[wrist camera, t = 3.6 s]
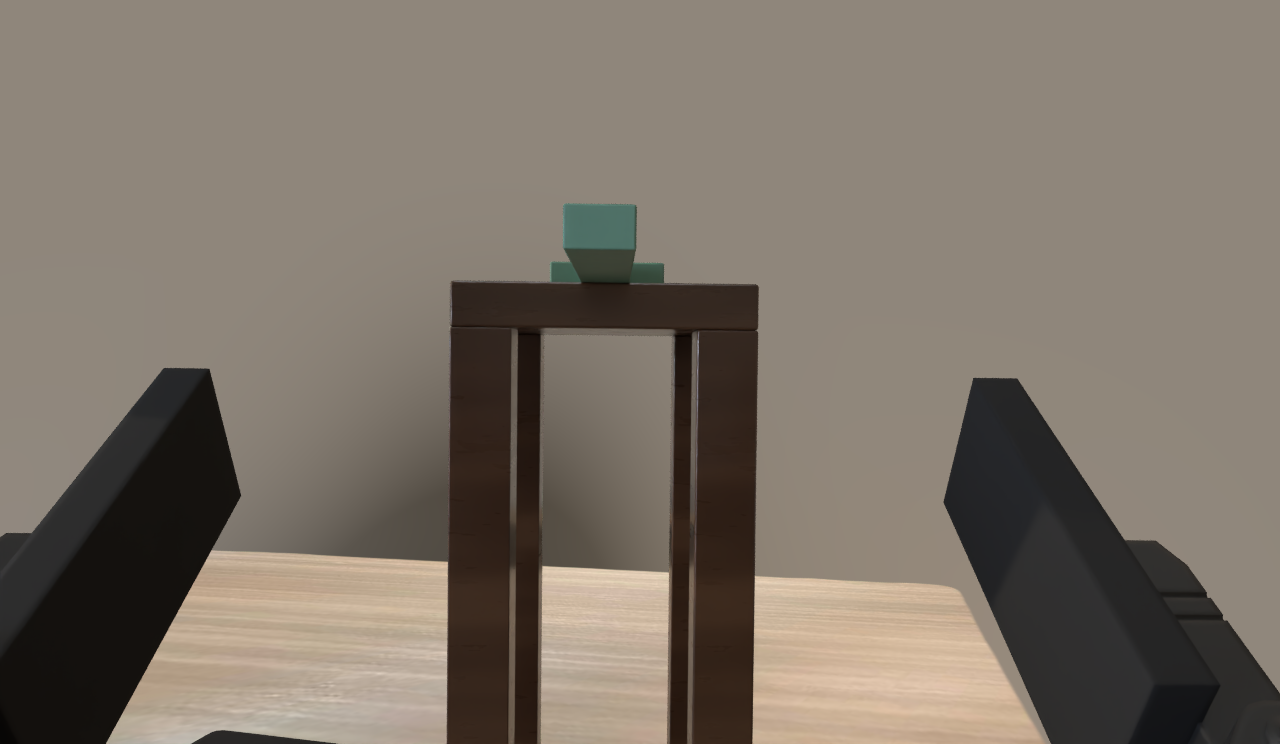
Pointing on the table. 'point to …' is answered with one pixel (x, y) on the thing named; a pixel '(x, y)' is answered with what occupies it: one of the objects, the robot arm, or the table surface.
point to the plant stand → (513, 497)
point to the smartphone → (249, 739)
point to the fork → (602, 246)
